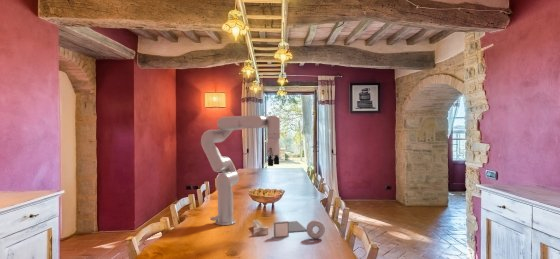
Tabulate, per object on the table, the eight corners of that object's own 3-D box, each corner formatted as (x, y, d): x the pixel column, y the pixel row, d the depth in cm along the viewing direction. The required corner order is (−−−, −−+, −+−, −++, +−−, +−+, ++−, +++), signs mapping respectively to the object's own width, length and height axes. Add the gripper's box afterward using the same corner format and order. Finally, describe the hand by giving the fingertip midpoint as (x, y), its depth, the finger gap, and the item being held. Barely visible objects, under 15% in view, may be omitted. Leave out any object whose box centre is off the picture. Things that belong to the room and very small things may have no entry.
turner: (254, 235, 185) (254, 228, 185) (249, 227, 202) (249, 220, 202) (268, 234, 187) (268, 227, 187) (262, 226, 203) (262, 219, 204)
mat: (287, 232, 190) (287, 231, 190) (278, 223, 209) (278, 222, 209) (307, 231, 193) (307, 230, 193) (297, 222, 212) (297, 221, 212)
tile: (274, 237, 181) (274, 223, 181) (273, 236, 182) (273, 222, 182) (288, 236, 183) (288, 222, 183) (287, 235, 184) (287, 221, 184)
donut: (324, 237, 181) (324, 219, 181) (325, 239, 177) (325, 220, 178) (306, 237, 181) (306, 219, 181) (306, 239, 177) (306, 220, 177)
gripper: (272, 136, 209) (273, 163, 209) (262, 136, 193) (262, 166, 193) (284, 136, 207) (284, 164, 207) (274, 136, 191) (274, 166, 190)
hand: (273, 165), depth 200 cm, fingers open, 9 cm apart
